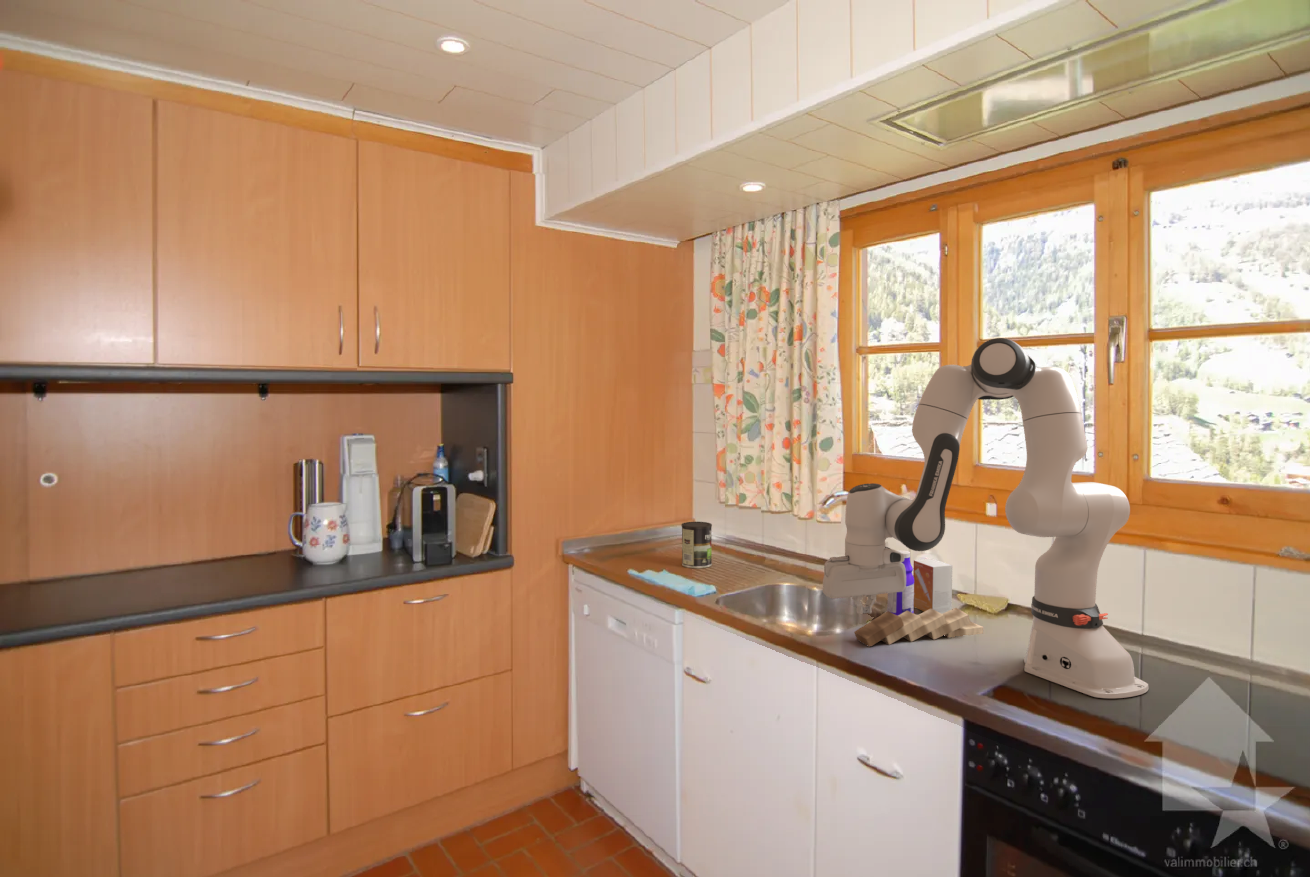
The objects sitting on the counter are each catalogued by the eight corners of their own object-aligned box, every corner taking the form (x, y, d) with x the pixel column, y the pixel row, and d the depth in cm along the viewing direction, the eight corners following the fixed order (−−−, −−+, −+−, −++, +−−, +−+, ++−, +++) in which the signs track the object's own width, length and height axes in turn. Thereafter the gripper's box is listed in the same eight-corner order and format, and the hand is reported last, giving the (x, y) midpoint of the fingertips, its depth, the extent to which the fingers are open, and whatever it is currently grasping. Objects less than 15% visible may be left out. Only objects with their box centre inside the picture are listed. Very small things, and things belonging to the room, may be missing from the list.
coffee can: (715, 562, 240) (715, 522, 239) (707, 569, 230) (707, 527, 229) (686, 560, 243) (686, 520, 242) (677, 567, 233) (677, 525, 233)
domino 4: (933, 639, 163) (970, 623, 164) (931, 631, 163) (968, 614, 164) (922, 631, 168) (958, 615, 169) (919, 623, 167) (955, 607, 169)
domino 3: (911, 641, 162) (946, 623, 163) (908, 633, 161) (944, 614, 163) (899, 634, 166) (933, 616, 168) (896, 626, 166) (931, 608, 168)
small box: (911, 607, 188) (912, 559, 187) (931, 604, 190) (932, 557, 189) (932, 616, 180) (933, 566, 180) (952, 613, 182) (953, 564, 181)
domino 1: (869, 647, 158) (904, 625, 161) (866, 639, 158) (900, 617, 160) (857, 639, 163) (890, 618, 166) (854, 631, 163) (887, 610, 165)
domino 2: (889, 644, 160) (923, 624, 162) (886, 636, 160) (920, 616, 162) (876, 637, 165) (909, 618, 167) (873, 629, 164) (907, 610, 167)
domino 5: (948, 640, 164) (983, 636, 167) (948, 631, 164) (983, 627, 167) (934, 633, 169) (968, 629, 172) (934, 624, 169) (968, 620, 172)
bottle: (896, 612, 183) (897, 547, 182) (917, 617, 179) (918, 550, 178) (883, 618, 178) (884, 552, 177) (904, 624, 174) (905, 555, 173)
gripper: (832, 560, 154) (831, 622, 154) (910, 554, 159) (909, 613, 160) (817, 554, 160) (817, 613, 160) (893, 548, 165) (893, 605, 166)
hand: (864, 613), depth 160 cm, fingers closed
